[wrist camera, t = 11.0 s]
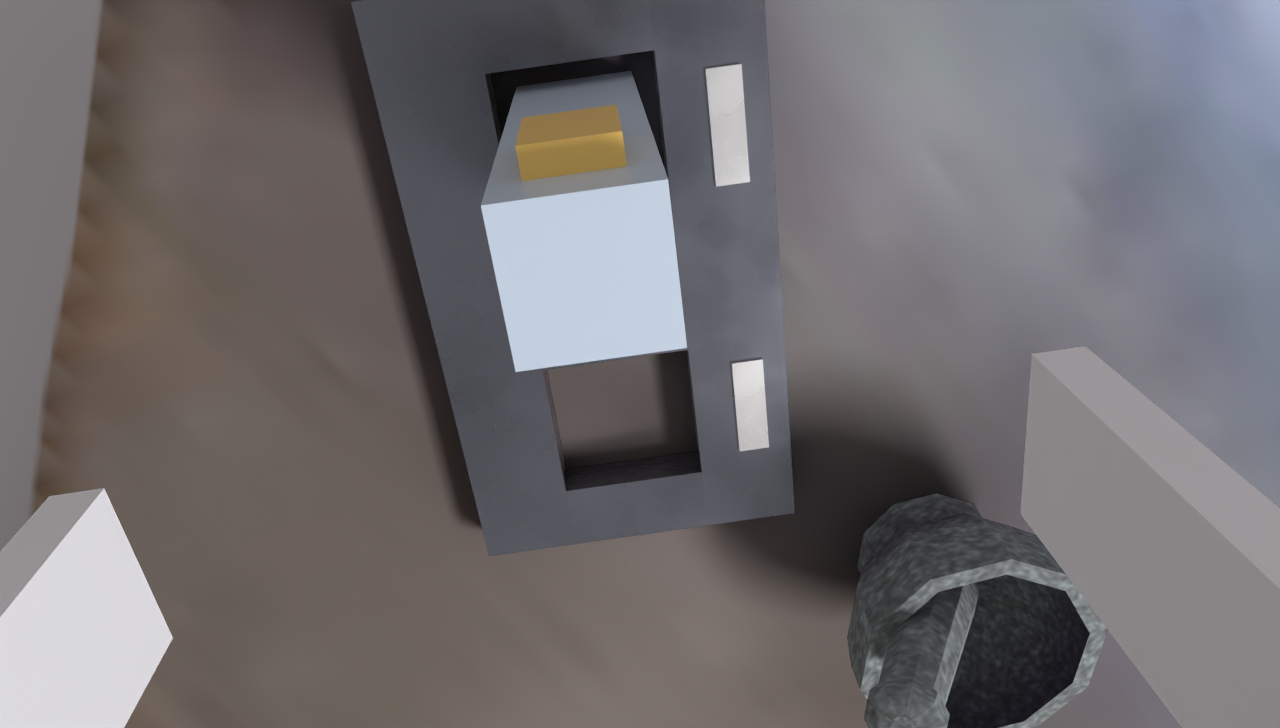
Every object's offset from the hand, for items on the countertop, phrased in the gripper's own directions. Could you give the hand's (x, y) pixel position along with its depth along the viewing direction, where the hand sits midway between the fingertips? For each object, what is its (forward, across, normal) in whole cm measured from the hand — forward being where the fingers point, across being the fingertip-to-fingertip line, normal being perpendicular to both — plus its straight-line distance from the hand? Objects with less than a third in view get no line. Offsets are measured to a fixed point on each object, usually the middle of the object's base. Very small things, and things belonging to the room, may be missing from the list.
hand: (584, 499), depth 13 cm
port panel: (+22, 0, +5) cm, 23 cm away
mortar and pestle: (+22, -12, +20) cm, 33 cm away
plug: (+22, 0, 0) cm, 22 cm away
